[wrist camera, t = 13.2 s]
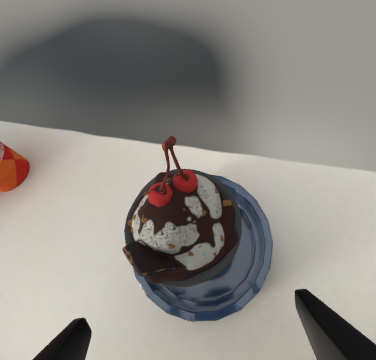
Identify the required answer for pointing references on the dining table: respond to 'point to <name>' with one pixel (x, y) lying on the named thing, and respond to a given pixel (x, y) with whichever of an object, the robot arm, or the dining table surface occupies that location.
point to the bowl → (223, 271)
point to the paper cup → (11, 168)
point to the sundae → (182, 227)
